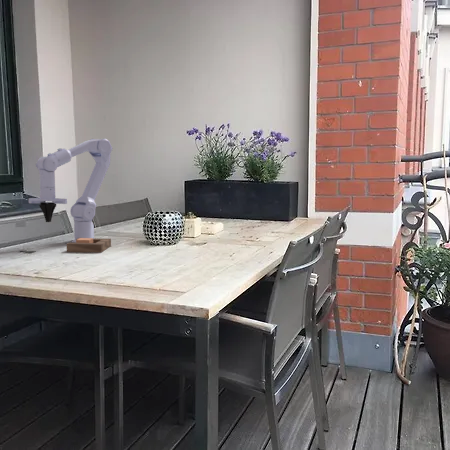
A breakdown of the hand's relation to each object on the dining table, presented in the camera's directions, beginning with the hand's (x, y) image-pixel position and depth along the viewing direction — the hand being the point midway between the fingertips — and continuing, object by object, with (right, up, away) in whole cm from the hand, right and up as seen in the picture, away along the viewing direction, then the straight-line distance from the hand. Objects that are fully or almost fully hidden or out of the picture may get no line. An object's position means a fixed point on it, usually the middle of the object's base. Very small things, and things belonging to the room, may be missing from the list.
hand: (48, 221), depth 202 cm
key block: (+16, -11, -5) cm, 20 cm away
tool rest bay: (+18, -10, -5) cm, 21 cm away
